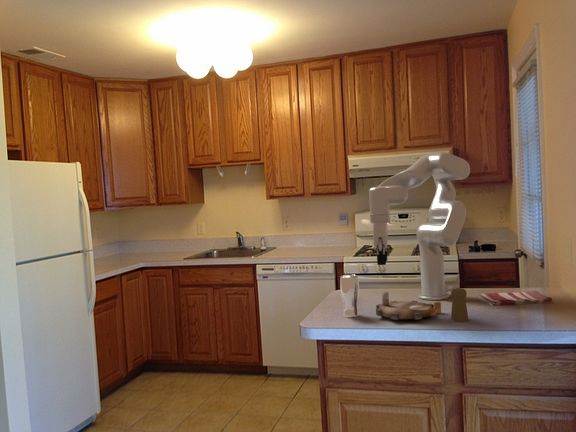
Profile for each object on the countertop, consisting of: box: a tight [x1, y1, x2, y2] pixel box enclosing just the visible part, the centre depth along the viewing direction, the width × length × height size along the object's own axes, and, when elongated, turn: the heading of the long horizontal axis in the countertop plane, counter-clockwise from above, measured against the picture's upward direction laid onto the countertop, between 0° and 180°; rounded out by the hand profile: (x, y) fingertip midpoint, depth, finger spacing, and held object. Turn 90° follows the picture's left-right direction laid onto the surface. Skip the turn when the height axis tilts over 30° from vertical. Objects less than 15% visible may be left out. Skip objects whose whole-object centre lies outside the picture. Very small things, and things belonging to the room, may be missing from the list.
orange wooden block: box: [398, 301, 442, 321], centre depth 184 cm, size 19×12×4 cm, turn 112°
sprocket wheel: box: [375, 291, 437, 321], centre depth 183 cm, size 22×22×7 cm
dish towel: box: [476, 290, 554, 306], centre depth 199 cm, size 17×23×3 cm
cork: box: [450, 287, 470, 323], centre depth 173 cm, size 6×6×11 cm
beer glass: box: [339, 274, 360, 318], centre depth 187 cm, size 7×7×15 cm
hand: (382, 262), depth 193 cm, fingers open, 9 cm apart
